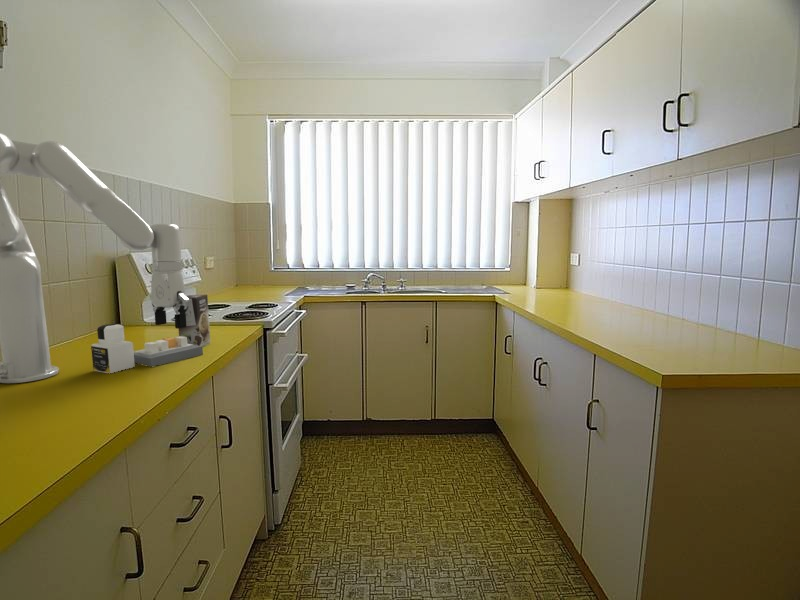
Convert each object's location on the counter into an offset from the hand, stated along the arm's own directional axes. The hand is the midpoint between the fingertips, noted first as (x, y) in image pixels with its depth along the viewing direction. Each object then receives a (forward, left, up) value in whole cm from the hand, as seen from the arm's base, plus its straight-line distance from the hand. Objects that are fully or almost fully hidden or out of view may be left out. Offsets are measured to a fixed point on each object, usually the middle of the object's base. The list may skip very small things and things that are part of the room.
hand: (170, 326), depth 143 cm
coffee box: (+12, +6, -9) cm, 16 cm away
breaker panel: (-2, 0, -9) cm, 9 cm away
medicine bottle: (-16, +1, -9) cm, 19 cm away
